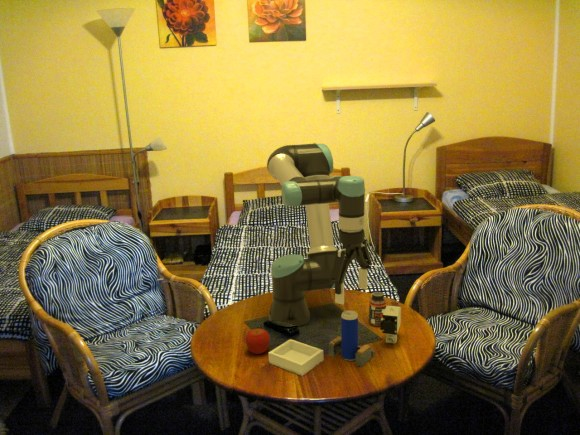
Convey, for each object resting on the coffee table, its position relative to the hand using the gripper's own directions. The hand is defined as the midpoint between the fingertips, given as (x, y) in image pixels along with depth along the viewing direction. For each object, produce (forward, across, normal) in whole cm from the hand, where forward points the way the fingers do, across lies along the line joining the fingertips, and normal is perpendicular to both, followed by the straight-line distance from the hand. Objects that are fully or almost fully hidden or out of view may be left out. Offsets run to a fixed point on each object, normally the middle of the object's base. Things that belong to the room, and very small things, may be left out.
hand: (351, 295), depth 167 cm
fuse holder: (+21, -1, 0) cm, 21 cm away
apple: (+21, -14, +27) cm, 37 cm away
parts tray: (+21, -12, +12) cm, 27 cm away
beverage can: (+21, -1, 0) cm, 21 cm away
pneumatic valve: (+21, +16, -5) cm, 27 cm away
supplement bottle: (+21, +25, +5) cm, 33 cm away
